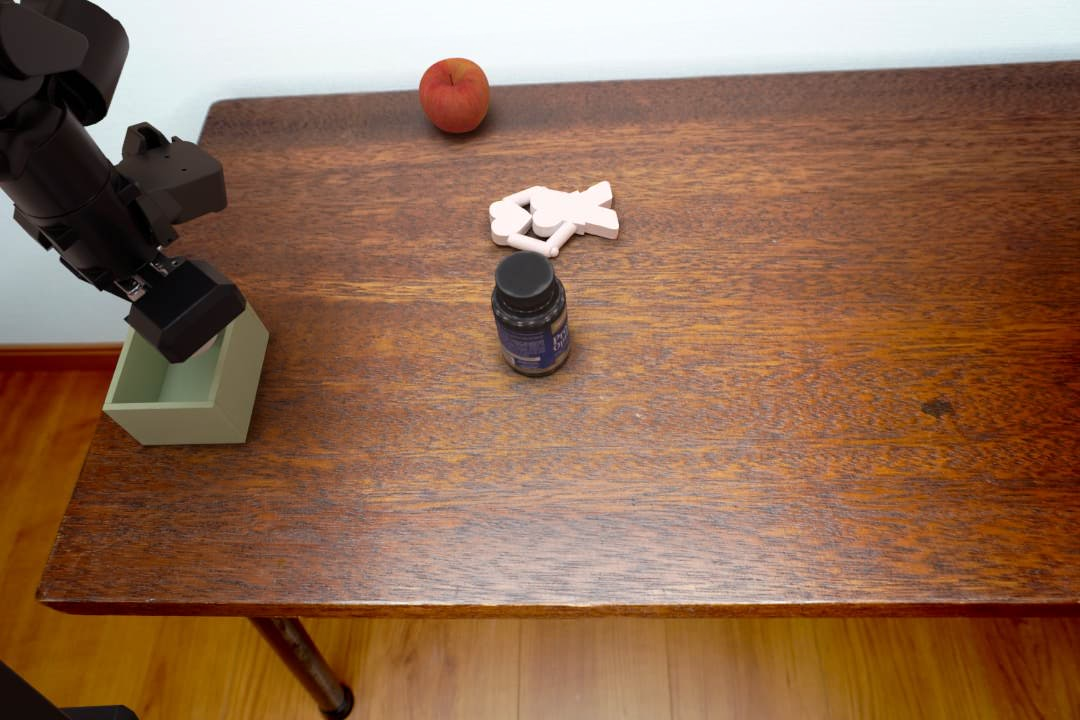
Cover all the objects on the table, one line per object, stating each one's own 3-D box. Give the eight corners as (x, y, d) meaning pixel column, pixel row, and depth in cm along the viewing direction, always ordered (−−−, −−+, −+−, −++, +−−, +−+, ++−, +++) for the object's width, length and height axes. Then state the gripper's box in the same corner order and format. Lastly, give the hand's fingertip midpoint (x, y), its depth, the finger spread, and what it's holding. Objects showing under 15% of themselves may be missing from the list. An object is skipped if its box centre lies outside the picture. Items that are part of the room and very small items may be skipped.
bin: (245, 443, 70) (212, 407, 65) (142, 445, 71) (101, 410, 65) (269, 333, 76) (241, 292, 70) (174, 336, 77) (139, 295, 71)
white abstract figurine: (486, 195, 82) (486, 180, 80) (604, 187, 83) (606, 172, 81) (494, 264, 77) (494, 249, 76) (619, 254, 78) (622, 240, 77)
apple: (486, 93, 91) (475, 32, 84) (502, 138, 87) (492, 77, 80) (421, 110, 90) (405, 49, 83) (435, 155, 86) (419, 95, 79)
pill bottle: (571, 377, 71) (563, 304, 62) (501, 379, 71) (483, 307, 62) (570, 318, 74) (563, 240, 65) (503, 321, 75) (486, 244, 65)
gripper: (263, 169, 48) (340, 317, 62) (91, 50, 56) (193, 205, 69) (106, 291, 44) (224, 421, 58) (-56, 146, 52) (82, 291, 65)
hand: (182, 325), depth 62 cm, fingers closed on rook chess piece, 4 cm apart
